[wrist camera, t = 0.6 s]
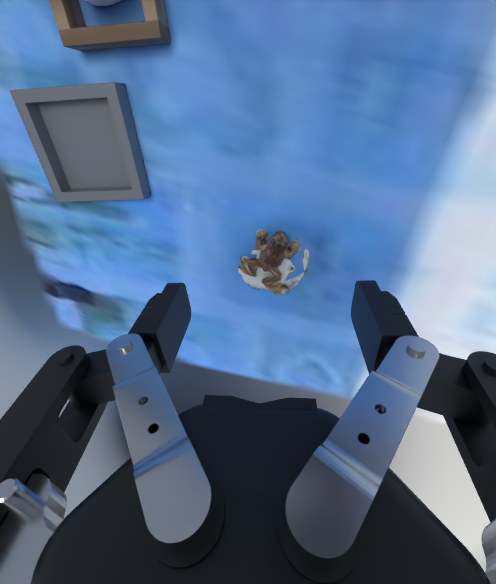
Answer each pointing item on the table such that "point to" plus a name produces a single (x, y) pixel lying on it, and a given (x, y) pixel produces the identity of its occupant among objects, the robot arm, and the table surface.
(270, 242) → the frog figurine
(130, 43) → the holder collar
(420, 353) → the robot arm
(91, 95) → the tray
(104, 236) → the table surface
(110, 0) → the eye dropper bottle
